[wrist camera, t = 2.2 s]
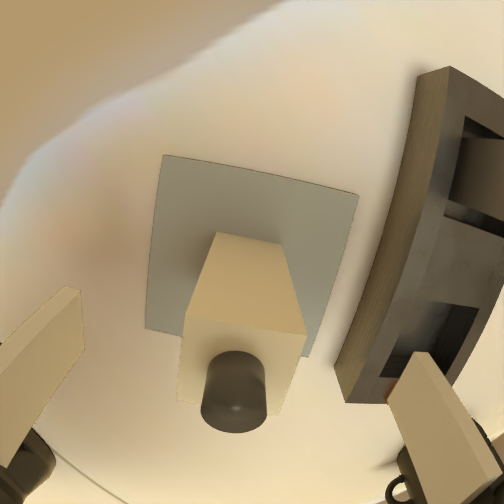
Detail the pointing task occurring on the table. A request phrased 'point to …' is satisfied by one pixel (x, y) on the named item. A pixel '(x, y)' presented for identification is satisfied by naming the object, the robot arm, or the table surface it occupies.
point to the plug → (240, 334)
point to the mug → (406, 481)
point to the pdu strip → (429, 249)
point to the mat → (242, 234)
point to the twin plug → (480, 176)
